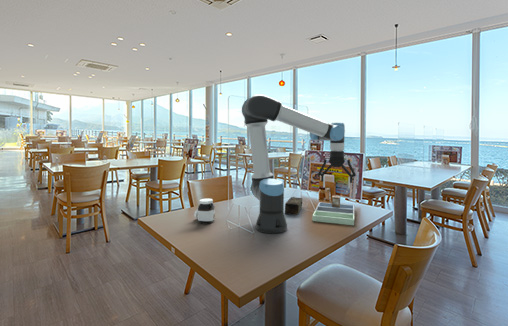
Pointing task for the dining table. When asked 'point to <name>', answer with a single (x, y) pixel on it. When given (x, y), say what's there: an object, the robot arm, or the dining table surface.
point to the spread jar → (205, 211)
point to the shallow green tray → (335, 210)
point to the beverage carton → (293, 206)
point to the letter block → (336, 201)
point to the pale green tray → (333, 217)
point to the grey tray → (336, 207)
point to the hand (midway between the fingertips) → (336, 188)
